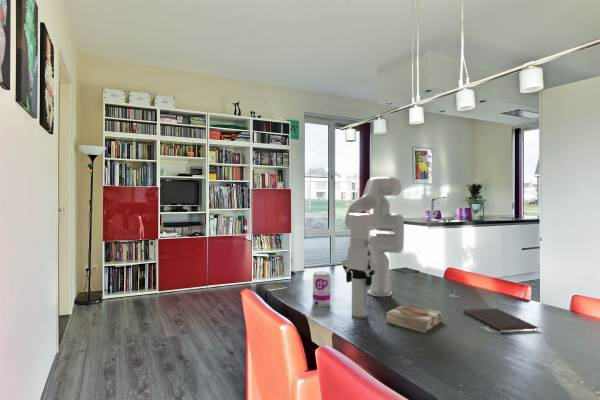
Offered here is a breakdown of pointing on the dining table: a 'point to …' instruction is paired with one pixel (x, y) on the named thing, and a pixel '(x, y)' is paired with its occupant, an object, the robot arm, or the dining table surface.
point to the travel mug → (359, 294)
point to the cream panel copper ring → (414, 317)
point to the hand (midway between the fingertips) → (358, 283)
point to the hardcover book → (498, 319)
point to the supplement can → (321, 289)
